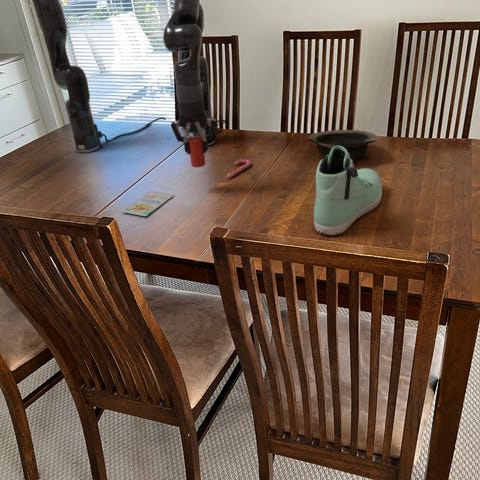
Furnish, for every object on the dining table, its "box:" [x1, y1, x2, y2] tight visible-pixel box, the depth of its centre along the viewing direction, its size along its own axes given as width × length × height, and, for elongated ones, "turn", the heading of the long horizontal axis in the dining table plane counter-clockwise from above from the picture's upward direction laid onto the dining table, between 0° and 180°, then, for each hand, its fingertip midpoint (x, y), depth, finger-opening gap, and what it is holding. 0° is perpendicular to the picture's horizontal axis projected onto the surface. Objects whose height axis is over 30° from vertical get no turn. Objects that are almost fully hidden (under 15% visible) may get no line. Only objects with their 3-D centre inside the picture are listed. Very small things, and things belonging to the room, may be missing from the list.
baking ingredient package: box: [121, 191, 173, 217], centre depth 150 cm, size 9×1×15 cm
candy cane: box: [226, 158, 252, 180], centre depth 168 cm, size 6×15×2 cm, turn 145°
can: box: [188, 136, 206, 168], centre depth 149 cm, size 4×4×9 cm
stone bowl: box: [307, 129, 380, 162], centre depth 171 cm, size 25×25×9 cm
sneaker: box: [313, 146, 383, 236], centre depth 133 cm, size 14×35×20 cm, turn 152°
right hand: (197, 152), depth 149 cm, fingers closed on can, 4 cm apart
